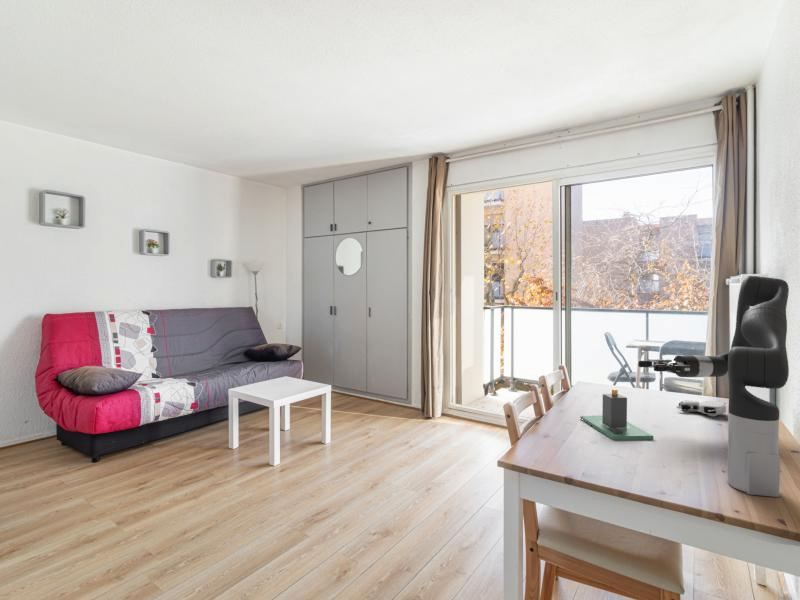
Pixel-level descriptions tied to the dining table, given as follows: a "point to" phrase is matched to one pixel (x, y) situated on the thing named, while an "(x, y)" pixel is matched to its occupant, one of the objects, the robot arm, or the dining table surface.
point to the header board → (617, 430)
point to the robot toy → (703, 407)
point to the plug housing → (614, 410)
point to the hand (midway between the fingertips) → (646, 365)
